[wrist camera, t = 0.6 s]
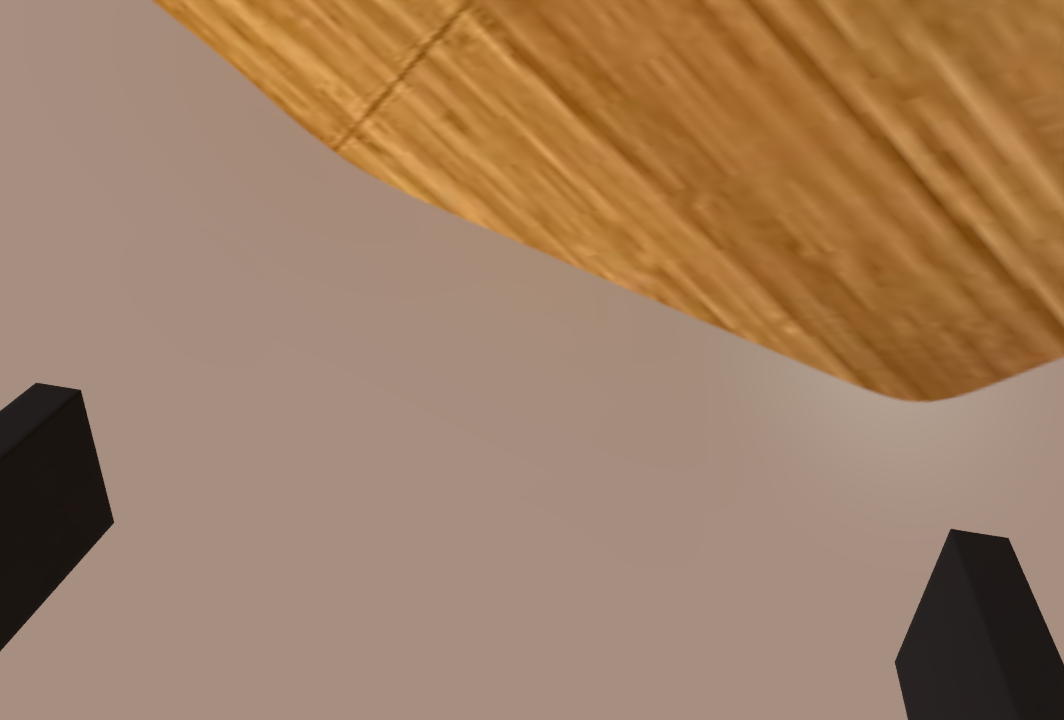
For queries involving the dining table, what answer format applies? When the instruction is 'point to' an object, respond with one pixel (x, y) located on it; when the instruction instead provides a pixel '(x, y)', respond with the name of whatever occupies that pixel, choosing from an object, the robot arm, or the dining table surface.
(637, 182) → the dining table surface
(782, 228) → the dining table surface
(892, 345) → the dining table surface
